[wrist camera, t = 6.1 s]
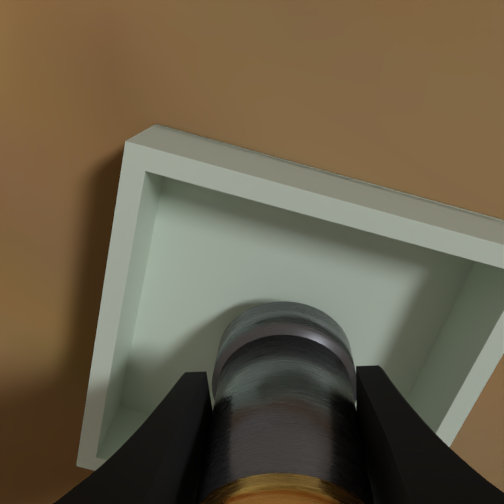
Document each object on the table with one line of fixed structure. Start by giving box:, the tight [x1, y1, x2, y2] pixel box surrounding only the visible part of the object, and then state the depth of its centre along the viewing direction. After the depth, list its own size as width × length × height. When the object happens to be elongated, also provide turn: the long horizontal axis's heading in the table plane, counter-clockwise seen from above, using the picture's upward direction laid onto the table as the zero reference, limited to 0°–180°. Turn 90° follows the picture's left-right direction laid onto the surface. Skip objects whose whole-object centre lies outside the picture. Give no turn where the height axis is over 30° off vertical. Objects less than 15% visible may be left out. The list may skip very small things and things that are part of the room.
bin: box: [76, 124, 504, 471], centre depth 15 cm, size 11×11×3 cm
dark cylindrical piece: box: [195, 301, 374, 504], centre depth 12 cm, size 4×4×7 cm
